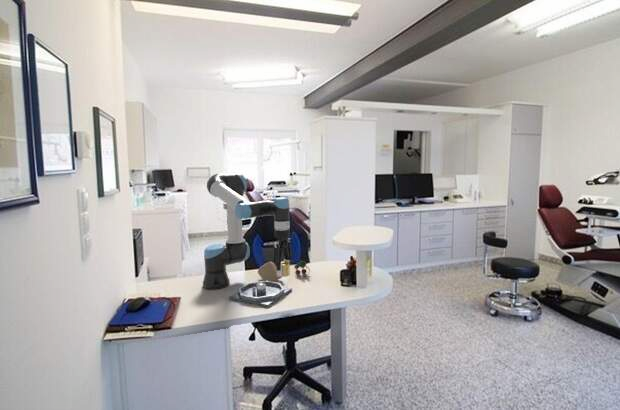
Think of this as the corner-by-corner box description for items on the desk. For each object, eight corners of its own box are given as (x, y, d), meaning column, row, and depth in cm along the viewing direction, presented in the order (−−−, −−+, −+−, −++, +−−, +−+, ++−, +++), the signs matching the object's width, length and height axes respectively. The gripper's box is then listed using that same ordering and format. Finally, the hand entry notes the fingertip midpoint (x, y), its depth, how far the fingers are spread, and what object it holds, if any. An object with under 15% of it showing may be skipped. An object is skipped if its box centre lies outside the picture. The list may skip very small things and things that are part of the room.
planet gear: (275, 275, 167) (274, 264, 166) (281, 272, 172) (281, 260, 171) (285, 277, 164) (285, 265, 163) (291, 273, 170) (291, 262, 169)
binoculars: (308, 277, 213) (305, 262, 217) (313, 273, 205) (309, 257, 209) (294, 279, 209) (291, 264, 213) (299, 275, 202) (295, 259, 206)
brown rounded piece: (272, 288, 206) (287, 278, 198) (262, 290, 200) (277, 279, 192) (265, 268, 212) (279, 257, 204) (255, 269, 206) (269, 258, 198)
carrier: (229, 299, 174) (228, 287, 173) (256, 284, 196) (255, 273, 195) (267, 307, 164) (267, 295, 163) (291, 290, 185) (291, 279, 184)
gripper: (278, 233, 155) (279, 281, 158) (298, 226, 172) (298, 269, 175) (264, 232, 159) (266, 279, 161) (285, 225, 175) (286, 267, 178)
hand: (283, 274), depth 168 cm, fingers closed on planet gear, 6 cm apart
